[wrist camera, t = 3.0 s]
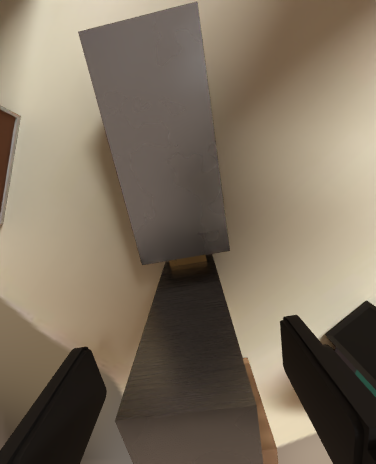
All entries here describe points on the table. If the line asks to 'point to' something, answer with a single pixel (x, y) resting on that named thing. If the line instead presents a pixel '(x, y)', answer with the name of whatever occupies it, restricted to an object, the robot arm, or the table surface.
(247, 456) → the gold grey t-shaped bar
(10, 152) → the food container
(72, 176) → the table surface
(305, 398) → the robot arm
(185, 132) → the sleeve
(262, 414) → the socket
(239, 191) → the table surface
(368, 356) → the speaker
